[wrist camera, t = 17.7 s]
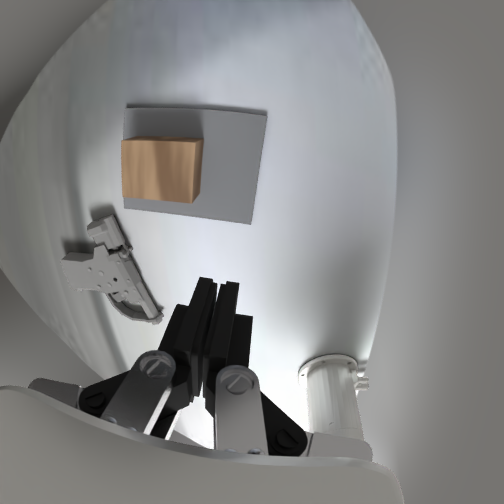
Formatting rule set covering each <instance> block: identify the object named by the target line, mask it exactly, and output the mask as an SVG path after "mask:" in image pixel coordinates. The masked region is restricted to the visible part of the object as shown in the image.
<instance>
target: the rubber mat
mask: <svg viewBox="0 0 504 504" xmlns="http://www.w3.org/2000/svg"><path fill="white" fill-rule="evenodd" d="M266 121H267V116H264V115H257V114H250V113H241V112H232V111H221V110H209V109H192V108H125V112H124V131H123V140H125V139H128V138H132V137H135V136H165V137H188V138H203V139H204V145H203V157H202V171H201V186H200V194H199V195H198V196H197V198H196V199H195V200H194V202H193V203H192V204H190V203H180V202H171V201H161V200H150V199H139V198H127V197H124V208H126V209H135V210H143V211H152V212H160V213H168V214H176V215H184V216H192V217H199V218H207V219H214V220H222V221H229V222H236V223H243V224H250V225H251V222H252V215H253V208H254V201H255V194H256V188H257V181H258V174H259V168H260V161H261V154H262V148H263V141H264V135H265V128H266Z"/></svg>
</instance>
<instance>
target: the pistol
mask: <svg viewBox="0 0 504 504" xmlns="http://www.w3.org/2000/svg"><path fill="white" fill-rule="evenodd" d="M87 232H88V234H89V236H90V237H93V239H94V241H95V243H96V245H97V246H96V247H95V248H94V253H91V254H87V253H76V252H69V253H68V254H67V255H66V256H65V257H64V258H63V259H62V260H61V261H60V263H61V266H62V268H63V271H64V274H65V276H66V279H67V281H68V284H69V286H70V288H71V289H73V290H76V291H80V292H82V291H83V289H86V290H97V291H99V292H103V293H105V294H106V296H107V297H108V299H109V301H110V302H111V304H112V305H113V307H114V308H116V309H117V310H118V311H119V312H120V313H121V314H122V315H124V316H126V317H127V318H129V319H131V320H136V321H146V322H148V323H149V322H152V324H153V325H155V324H159V323H160V322H161V321H162V317H164V315H163V313H161V312H160V311H158V310H157V308H156V307H155V305H154V303H153V301H152V300H151V298H150V296H149V294H148V292H147V290H146V288H145V286H144V284H143V283H142V281H141V277H140V275H139V273H138V271H137V269H136V267H135V265H134V263H133V261H132V259H131V257H130V255H129V254H130V253H129V252H130V251H132V250H133V248H132V247H128V245H125V242H126V241H125V239H124V237H123V235H122V233H121V231H120V229H119V226H118V224H117V222H116V220H115V217H114V215H113V214H112V215H109V216H106V217H103V218H101V219H98V220H96V221H93V222H91V223H90V224H89V225H88V226H87ZM120 245H123V246H120ZM111 248H113V249H111ZM108 249H110V250H108ZM125 299H127V300H128V301H129V303H130V304H131V303H137V302H139V303H140V305H141V306H142V308H143V309H144V311H145V313H144V312H135V311H133V310H131V309H129V308H127V307H126V306H125V305H124V304H123V303H122V302H121V301H123V300H125Z"/></svg>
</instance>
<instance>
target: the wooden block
mask: <svg viewBox="0 0 504 504" xmlns="http://www.w3.org/2000/svg"><path fill="white" fill-rule="evenodd" d="M203 145H204V139H203V138H188V137H165V136H135V137H132V138H128V139H125V140H122V141H121V165H122V195H123V197H127V198H139V199H150V200H161V201H171V202H180V203H190V204H192V203H193V202H194V200H195V199H196V198H197V196H198V195H199V194H200V186H201V171H202V157H203Z"/></svg>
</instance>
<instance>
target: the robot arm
mask: <svg viewBox="0 0 504 504" xmlns="http://www.w3.org/2000/svg"><path fill="white" fill-rule="evenodd" d="M238 290H239V283H236V282H229V281H227V282H226V284H221V286H220V289H219V293H218V297H217V301H216V296H217V283H213V279H210V278H204V277H200V278H199V280H198V283H197V285H196V288H195V291H194V293H193V296H192V299H191V301H190V304H189V306H186V305H181V304H177V305H176V307H175V309H174V312H173V314H172V316H171V319H170V321H169V324H168V326H167V328H166V331H165V333H164V336H163V338H162V341H161V343H160V346H159V348H158V350H151V351H148V352H145V353H143V354H142V355H141V356H140V357H139V358H138V359H137V360H136V362H135V363H134V365H133V367H132V368H131V370H129V371H127V372H124V373H122V374H119V375H117V376H114V377H112V378H109V379H106V380H104V381H101V382H99V383H96V384H93V385H90V386H88V387H86V388H81V386H80V385H76V384H70V383H64V382H59V381H54V380H49V379H45V378H37V379H34V380H33V381H32V382H31V383H30V384H29V386H28V388H26V387H21V386H12V385H8V386H0V504H404V498H403V493H402V490H401V487H400V483H399V481H398V479H397V477H396V475H395V474H394V473H393V472H392V471H391V470H390V469H388V468H387V467H385V466H382V465H380V464H378V463H374V462H372V455H373V454H372V449H371V447H370V445H369V444H368V443H367V442H365V441H364V436H363V430H362V424H361V419H360V414H359V408H358V403H357V397H356V392H355V390H368V387H369V384H368V377H358V376H357V373H358V365H357V363H356V361H355V360H354V359H353V358H351V357H349V356H346V355H339V354H333V355H325V356H321V357H318V358H315V359H313V360H311V361H309V362H308V363H306V364H305V365H304V366H303V367H302V368H301V369H300V371H299V373H298V381H299V383H300V385H301V386H302V387H304V388H306V389H307V401H308V416H309V432H306V431H304V430H303V429H302V428H301V427H300V426H299V425H298V424H296V423H295V422H294V421H293V420H292V419H291V418H290V417H288V416H287V415H286V414H285V413H284V412H283V411H282V410H281V409H279V408H278V407H277V406H276V405H275V404H274V403H273V402H272V401H271V400H270V399H269V398H268V397H266V396H265V395H264V394H263V393H262V392H261V391H260V386H259V380H258V377H257V376H256V374H255V373H254V372H253V371H252V370H250V369H249V368H248V366H249V355H250V344H251V333H252V322H253V316H247V315H240V314H235V313H236V305H237V298H238ZM202 382H203V398H205V408H206V410H207V411H208V412H209V413H210V414H211V416H212V417H213V432H214V449H208V448H203V447H197V446H192V445H187V444H183V443H177V442H174V441H169V438H170V435H171V433H172V431H173V429H174V427H175V424H176V422H177V420H178V418H179V416H180V413H181V409H182V408H184V407H186V406H188V405H189V403H190V402H192V403H193V400H194V396H197V397H199V395H200V391H201V386H202Z"/></svg>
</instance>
